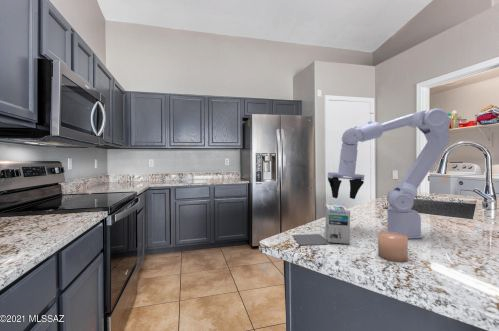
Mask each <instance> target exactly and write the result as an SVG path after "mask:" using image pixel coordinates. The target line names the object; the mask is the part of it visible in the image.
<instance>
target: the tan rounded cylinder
mask: <svg viewBox="0 0 499 331" xmlns="http://www.w3.org/2000/svg"><path fill="white" fill-rule="evenodd" d="M408 243H409V239H408V237H407V236H406V235H404V234H401V233H396V232H382V231H380V232H378V234H377V244H378V246H377V255H378V257H379V258H381V259H383V260H386V261H389V262H394V263H405V262H408V259H409V257H408V256H409V252H408V250H409V248H408V247H409V244H408Z"/></svg>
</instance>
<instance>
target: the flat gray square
mask: <svg viewBox="0 0 499 331" xmlns="http://www.w3.org/2000/svg"><path fill="white" fill-rule="evenodd" d="M291 236H292V237H293V238H294V240H295V241H296V243H297V244H298V246H303V247H304V246H325V245H327V244H330V245H331V243H332V242H328V239H326V238H325V237H324V236H323V235H321V233H311V234H305V233H304V234H292V235H291Z"/></svg>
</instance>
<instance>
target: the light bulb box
mask: <svg viewBox="0 0 499 331" xmlns="http://www.w3.org/2000/svg"><path fill="white" fill-rule="evenodd" d="M324 228H325V232H324V234H325V237H326V238H327V239H326V240H327V241H328V242H330V243H336V244H346V245H350V243H351V242H350V241H351V240H350V238H351V237H350V236H351V210H350V209H348V208H347V207H346V206H345V204H331V203H325V227H324Z"/></svg>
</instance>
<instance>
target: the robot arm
mask: <svg viewBox="0 0 499 331" xmlns="http://www.w3.org/2000/svg"><path fill="white" fill-rule="evenodd" d="M451 122H452V119H451V118H450V116H449V114H448V112H447V111H446V110H445V109H442V108H439V107H435V108H432V109H429V110H420V111H417V112H412V113H410V114H406V115H403V116H401V117H397V118H393V119H391V120H388V121H385V122H382V123H380V122H378V121H372V120H370V121H367V123H366V124H363V125H360V126H358V125H356V126H354V127H350V128H348V129H346V130H345V131H344V132H343V133H342V136H341V141H342V143H341V148H340V155H339V162H338V163H339V164H338V170H337V171H338V172H332V171H331V172H327V181H328V183H329V186H330V190H331V195H332V196H331V197H332V198H333V199H338V197H339V191H340V186H341V184H342V182H343V181H342V180H341V179H343V180H348V181H349V188H350V189H349V199H351V200H355V199H356V196H357V194H358V192H359V190H360V188H361V187H362V185H364V183H365V174H360V173H358V174H356V165H357V157H358V152H359V151H358V143H359V142H360V143H363V142H366V141H367V142H368V141H371V140H374V139H377V138H378V139H379V138H381V137H382V136H383V134H384V132H385V133H386V132H389V131H393V130H396V129H400V128H404V127H410V128H418V130H419V131H420V132H421V133H422V134H424V137H425V139H426V141H427V143H426V144H425V145H424V146H423V148H422V150H421V151H420V153H419V154H418V156H417V157H416V159H415V160H414V162H413V163H412V165H411V166H410V168H409V169H408V171H407V172H406V174H405V175H404V177H403V179H402V180H401V181H400V182H399V183H398V184H397V185H396V186H395V188H393V189H392V190H390V191H388V193H387V195H386V201H387V203H388V204H389V206H388V207H387V230H381V232H396V233H401V234H404V235H406V236H407V237H408V240H409V239H423V236H422V221H421V220H422V218H421V215H420V214H419V212H418V211H417V210H415V209H412V208H413V207H414V204H415V203H414V202H415V197H416V196H417V193H418V188H419V186H421V183H422V182H423V181H424V179H425V177H426V176H427V175H428V173H429V172H430V171H431V169H432V167H433V166H434V165H435V163H436V162H437V160H438V158H439V157H440V156H441V154H442V153H443V152H444V150H445V148H446V147H447V146H448V144H449V142H450V125H451Z"/></svg>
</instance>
